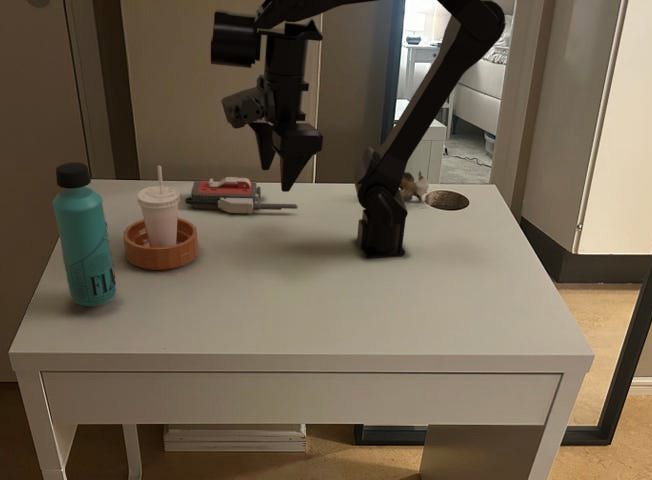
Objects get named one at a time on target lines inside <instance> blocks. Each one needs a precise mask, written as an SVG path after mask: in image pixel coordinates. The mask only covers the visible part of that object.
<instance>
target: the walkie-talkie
mask: <svg viewBox="0 0 652 480" xmlns="http://www.w3.org/2000/svg"><path fill="white" fill-rule="evenodd" d="M261 190H262V189H261V186H257V182H255V181H253V182H252V181H251V179H250V178H248V177H245V176H244V177H243V176H241V177H240V176H239V177H237V176H226V177H224V178H222V179H221V180H219V181H218V180H217V181H216V180H214V178H209V179H208V180H194V181H193V185H192V187H191V192H190V194H191V197H186V198H185V199H184V202H185V204H187V205H191V207H193V208H195V209H202V210H204V209H207V210H221V211H224V212H227V213H230V214H231V213H233V214H249V215H250V214H253V211H260V210H270V211H273V210H275V211H281V210H282V209H284V210H286V209H290V210H297V209H298V204H296V203H260V202H259V201H257V200H258V199H261V193H262V192H261Z"/></svg>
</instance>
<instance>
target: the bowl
mask: <svg viewBox="0 0 652 480" xmlns="http://www.w3.org/2000/svg"><path fill="white" fill-rule="evenodd" d="M197 229H198V228H197V226H195V225H194V224H193V223H192V222H191V221H188V220H186V219H183V218H179V217H178V218H177V238H176V245H173V246H169V247H157V248H155V247H151V246H150V242H149V238H148V234H147V230H146V226H145V222H144V218H143V219H140V220H138V221H135V222H133V223H132V224H130V225H128V226H127V227H126V228H125V230H123V244H124V252H125V257H126V259H127V260H128V261H129V263H131V264H133V265H134V266H136V267H140V268H142V269H145V270H151V271H169V270H174V269H177V268H181V267H183V266H185V265H186V264H188V263H190V262H192V261H193V260H194V259H195V258H196V257H197V256H198V253H199V241H198V231H197Z"/></svg>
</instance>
